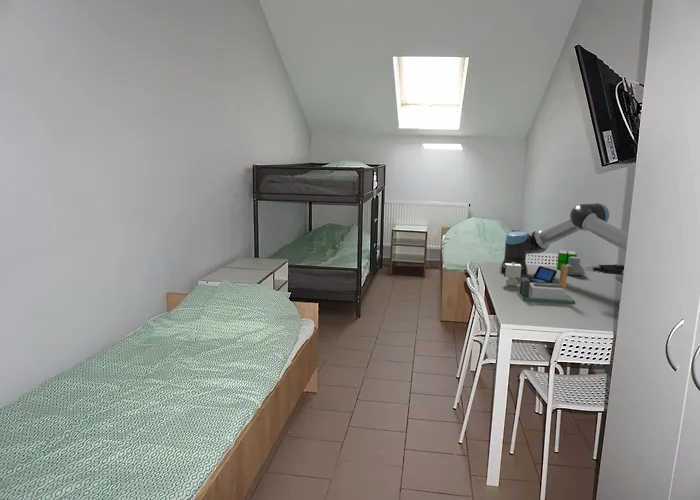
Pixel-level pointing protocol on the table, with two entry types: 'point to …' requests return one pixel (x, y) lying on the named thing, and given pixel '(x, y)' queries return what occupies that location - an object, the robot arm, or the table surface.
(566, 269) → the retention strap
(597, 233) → the robot arm
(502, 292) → the table surface
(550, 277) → the handheld game console
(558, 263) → the puzzle cube
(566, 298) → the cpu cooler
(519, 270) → the pneumatic valve
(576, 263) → the air freshener
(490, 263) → the table surface
